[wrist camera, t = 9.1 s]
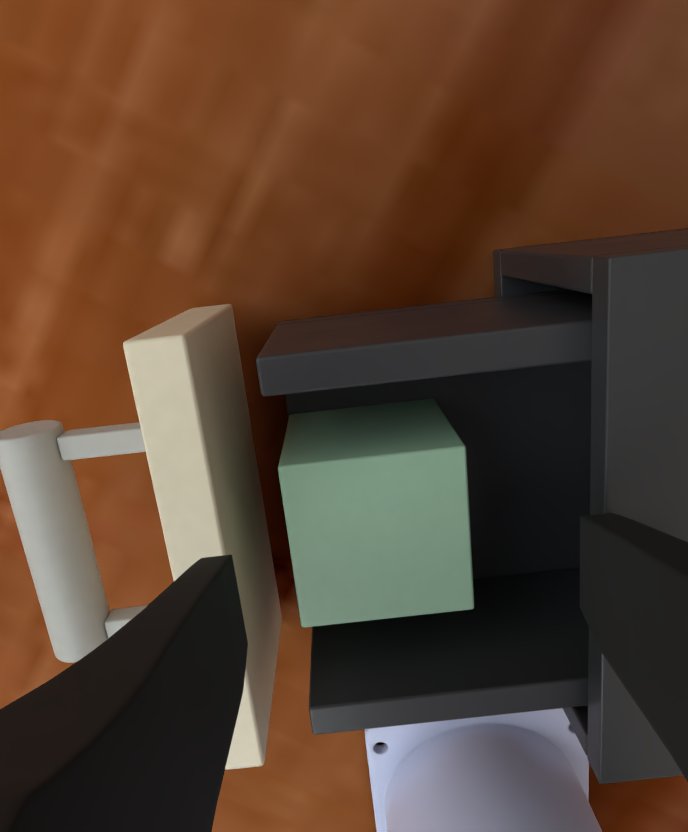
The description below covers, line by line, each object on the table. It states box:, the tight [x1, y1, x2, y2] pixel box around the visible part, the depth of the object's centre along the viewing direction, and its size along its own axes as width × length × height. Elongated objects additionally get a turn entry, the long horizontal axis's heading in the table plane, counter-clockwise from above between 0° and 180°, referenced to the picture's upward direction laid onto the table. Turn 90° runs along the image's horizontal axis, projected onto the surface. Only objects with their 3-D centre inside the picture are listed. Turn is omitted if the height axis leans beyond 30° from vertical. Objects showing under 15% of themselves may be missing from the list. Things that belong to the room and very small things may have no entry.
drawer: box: [0, 289, 592, 770], centre depth 15 cm, size 17×10×6 cm, turn 96°
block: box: [278, 399, 474, 627], centre depth 15 cm, size 4×4×4 cm
